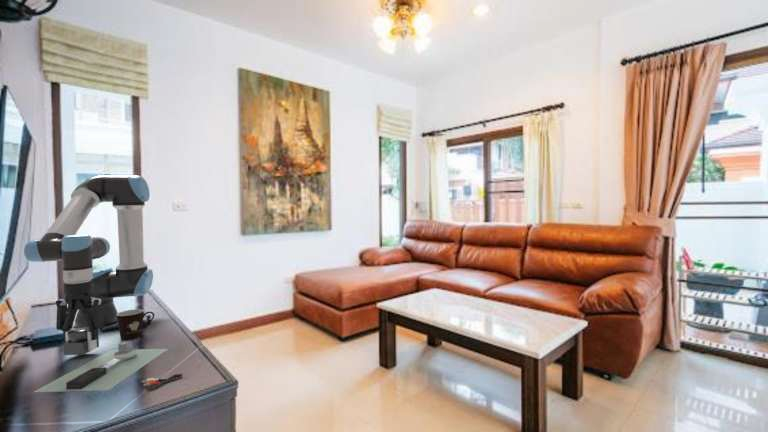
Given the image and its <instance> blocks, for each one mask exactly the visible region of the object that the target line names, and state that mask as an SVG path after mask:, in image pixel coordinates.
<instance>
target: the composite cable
mask: <svg viewBox="0 0 768 432" xmlns="http://www.w3.org/2000/svg"><path fill="white" fill-rule="evenodd" d="M181 378H183V374H182V373H177V374H174V375H171V376H170V377H168V378H166V379H165V378H163V379H162V378H159V377H158V378H156V377H149V378H146V379H145V380H142V381H141V383H145V384H143V386H146V387H148V390H149V391H152V390H155V389H157V388H160V387H162V386H163V385H165V384H168V383H171V381H172V382H175V381H177V380H179V379H181Z"/></svg>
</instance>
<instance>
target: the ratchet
mask: <svg viewBox="0 0 768 432" xmlns="http://www.w3.org/2000/svg"><path fill="white" fill-rule="evenodd" d="M137 349H138V348H134V347H133V341H132V340H126V341H123V342H120V343H118V350H119V351H118V352H116V353H115V354H114V359H112V360H110V361H109V362H107V363H105V364H103V365H102V366H100V367H98V368H92V369H90V370H88V371H86V372H85V373H83V374H81V375H79V376H78V377H76V378H74V379H72V380H71V381H69V382H67V383H66V388H67V389H82V388H84V387H86V386H87V385H89V384H90V383H92V382H94V381H95V380H97V379H98V378H100V377H102V376H103V375H105V374H107V372H108V371H110V370H112V369H113V368H115V367H117V366H118V365H120V364H121V363H123V362H124V361H128V360H131V359H134V358H135V357H136V356H137Z"/></svg>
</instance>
